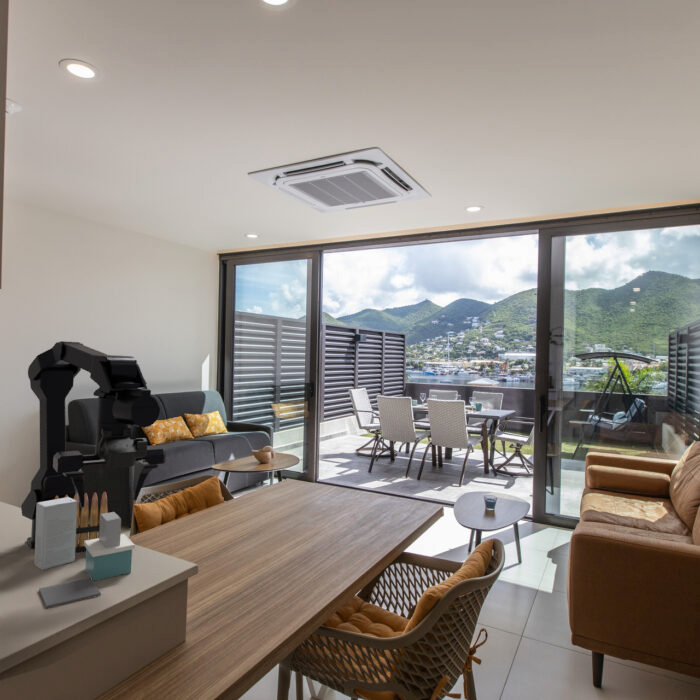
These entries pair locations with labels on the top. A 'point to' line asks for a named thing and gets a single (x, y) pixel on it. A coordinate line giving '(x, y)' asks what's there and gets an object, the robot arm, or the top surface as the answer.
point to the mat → (69, 592)
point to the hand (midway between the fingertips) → (109, 503)
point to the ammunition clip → (85, 524)
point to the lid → (109, 537)
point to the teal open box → (108, 564)
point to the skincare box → (55, 532)
